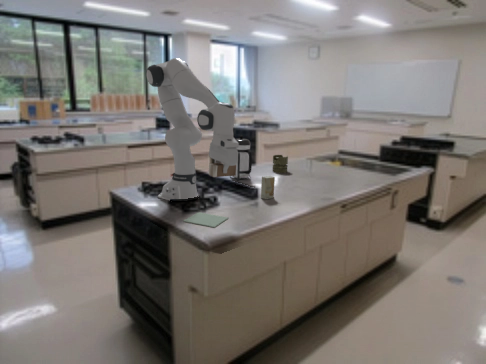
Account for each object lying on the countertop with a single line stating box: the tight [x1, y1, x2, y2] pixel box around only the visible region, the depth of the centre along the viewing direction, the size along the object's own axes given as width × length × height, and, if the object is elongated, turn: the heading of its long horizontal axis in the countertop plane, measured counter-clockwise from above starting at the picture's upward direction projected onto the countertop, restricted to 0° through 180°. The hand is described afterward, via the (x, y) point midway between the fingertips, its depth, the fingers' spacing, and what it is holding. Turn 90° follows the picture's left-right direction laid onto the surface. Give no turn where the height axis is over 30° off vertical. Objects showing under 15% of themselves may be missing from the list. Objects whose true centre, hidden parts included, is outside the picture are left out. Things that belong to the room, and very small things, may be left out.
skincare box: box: [260, 175, 276, 200], centre depth 191 cm, size 6×4×12 cm
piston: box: [271, 154, 289, 174], centre depth 262 cm, size 11×12×11 cm
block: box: [208, 162, 236, 178], centre depth 153 cm, size 5×5×11 cm
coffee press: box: [229, 134, 253, 182], centre depth 233 cm, size 17×16×30 cm
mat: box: [183, 212, 229, 228], centre depth 156 cm, size 16×13×1 cm
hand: (221, 171), depth 153 cm, fingers closed on block, 5 cm apart
